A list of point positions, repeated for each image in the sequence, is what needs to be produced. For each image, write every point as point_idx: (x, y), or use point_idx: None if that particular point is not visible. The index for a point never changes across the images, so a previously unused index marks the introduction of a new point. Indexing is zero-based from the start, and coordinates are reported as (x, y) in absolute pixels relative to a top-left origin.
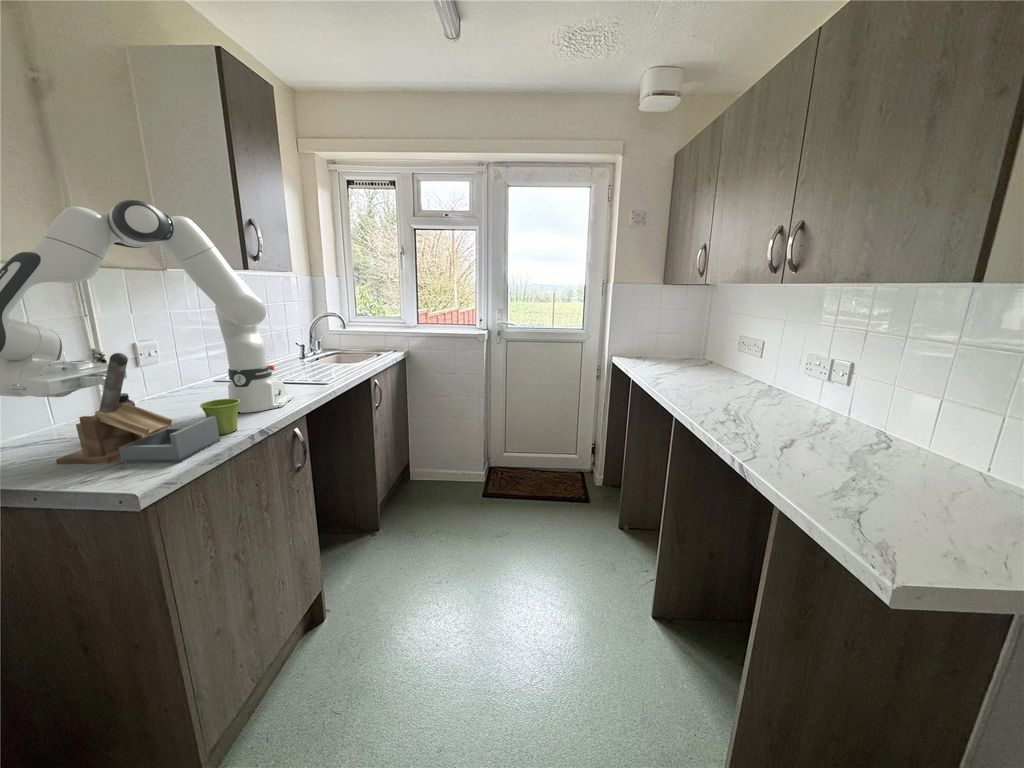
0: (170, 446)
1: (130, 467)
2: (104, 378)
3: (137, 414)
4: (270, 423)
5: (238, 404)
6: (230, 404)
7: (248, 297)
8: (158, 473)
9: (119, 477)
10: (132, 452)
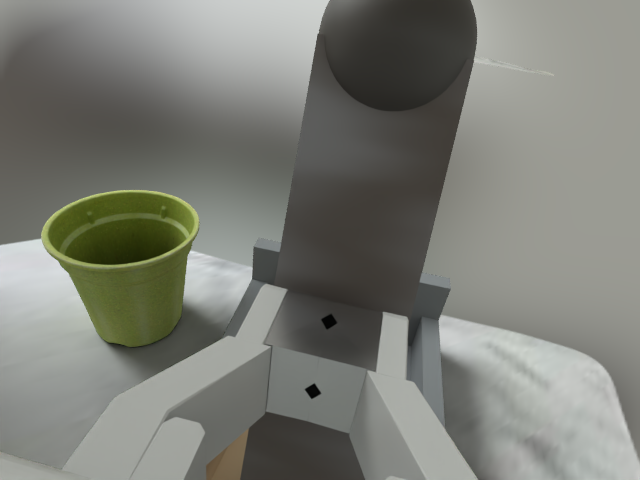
0: (438, 324)
1: None
2: (394, 319)
3: (238, 444)
4: None
5: (135, 204)
6: (179, 201)
7: None
8: (499, 366)
9: (545, 457)
10: None
